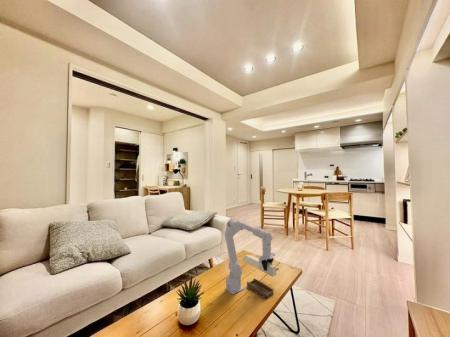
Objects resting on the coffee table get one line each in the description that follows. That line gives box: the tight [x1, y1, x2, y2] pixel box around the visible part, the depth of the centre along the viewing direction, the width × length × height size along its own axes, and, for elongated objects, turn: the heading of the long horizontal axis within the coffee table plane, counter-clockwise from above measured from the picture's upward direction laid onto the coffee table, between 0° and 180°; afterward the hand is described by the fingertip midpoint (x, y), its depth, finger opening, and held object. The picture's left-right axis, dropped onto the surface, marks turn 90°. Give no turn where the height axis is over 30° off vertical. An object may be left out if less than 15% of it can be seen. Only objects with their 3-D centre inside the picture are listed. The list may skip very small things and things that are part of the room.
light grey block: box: [258, 262, 277, 277], centre depth 129 cm, size 4×12×6 cm, turn 37°
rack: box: [246, 278, 274, 300], centre depth 120 cm, size 7×16×3 cm, turn 37°
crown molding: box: [241, 254, 280, 271], centre depth 154 cm, size 29×12×4 cm, turn 39°
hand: (267, 269), depth 129 cm, fingers closed on light grey block, 3 cm apart
